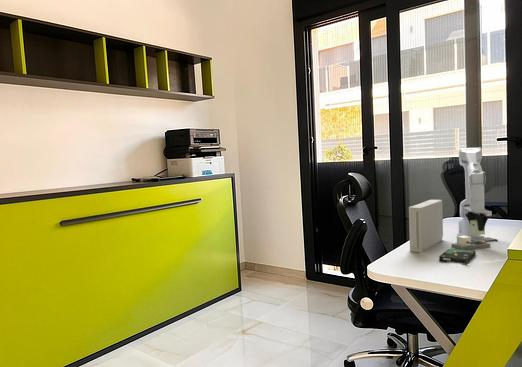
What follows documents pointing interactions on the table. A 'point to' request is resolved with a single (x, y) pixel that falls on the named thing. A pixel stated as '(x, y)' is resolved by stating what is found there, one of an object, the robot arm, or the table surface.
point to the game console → (425, 225)
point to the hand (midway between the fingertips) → (477, 229)
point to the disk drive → (457, 256)
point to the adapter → (464, 240)
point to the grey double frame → (472, 245)
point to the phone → (485, 239)
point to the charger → (475, 228)
